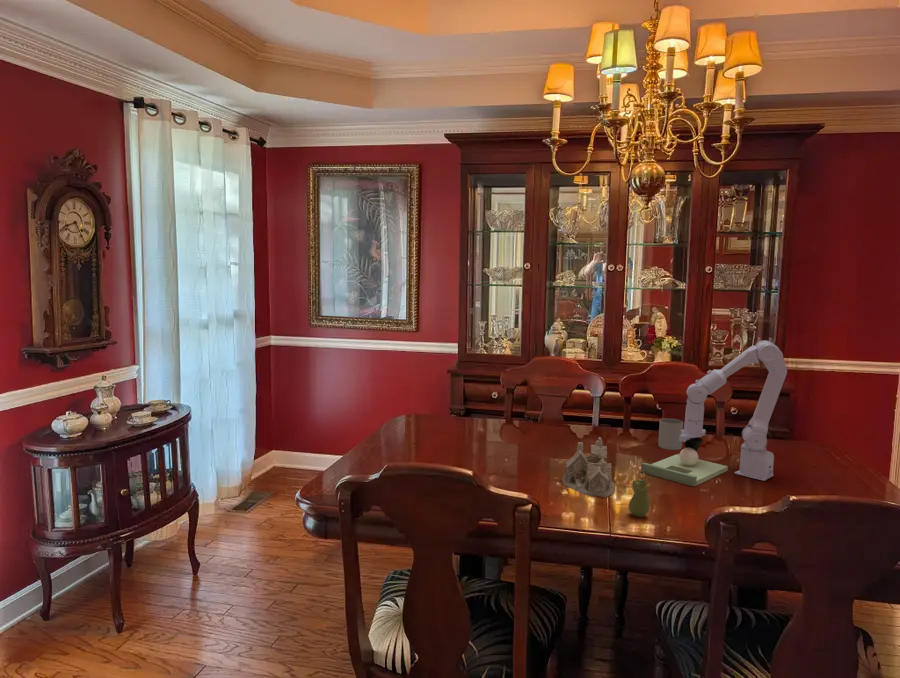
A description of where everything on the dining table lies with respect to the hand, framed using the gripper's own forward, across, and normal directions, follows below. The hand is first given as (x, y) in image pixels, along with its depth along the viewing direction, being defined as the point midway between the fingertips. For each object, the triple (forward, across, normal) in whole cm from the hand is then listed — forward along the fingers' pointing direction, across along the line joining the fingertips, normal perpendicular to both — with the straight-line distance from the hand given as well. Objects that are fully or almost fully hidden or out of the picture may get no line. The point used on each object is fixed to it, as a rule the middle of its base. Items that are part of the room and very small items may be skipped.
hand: (690, 458), depth 211 cm
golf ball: (-1, +2, 0) cm, 3 cm away
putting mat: (+3, +5, +1) cm, 6 cm away
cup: (+4, -19, -17) cm, 26 cm away
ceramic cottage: (+4, +42, -12) cm, 44 cm away
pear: (+3, +51, +11) cm, 52 cm away
